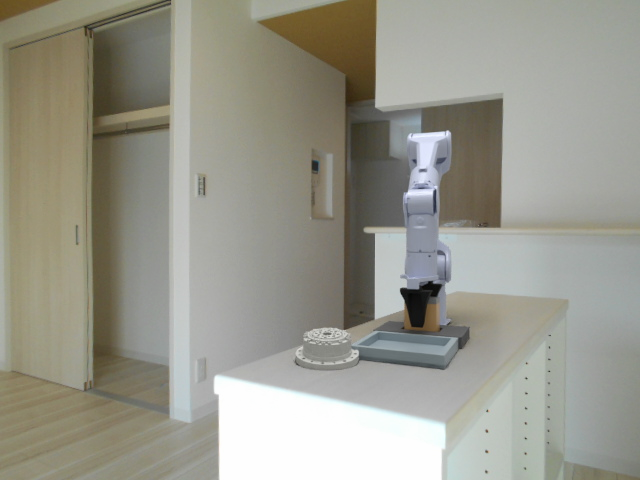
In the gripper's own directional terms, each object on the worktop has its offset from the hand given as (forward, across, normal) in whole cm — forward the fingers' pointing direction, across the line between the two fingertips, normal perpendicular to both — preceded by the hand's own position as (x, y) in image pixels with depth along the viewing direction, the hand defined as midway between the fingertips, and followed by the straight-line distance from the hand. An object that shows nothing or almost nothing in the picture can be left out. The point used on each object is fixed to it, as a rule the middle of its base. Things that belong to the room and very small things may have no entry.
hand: (422, 323), depth 87 cm
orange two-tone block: (+3, 0, 0) cm, 3 cm away
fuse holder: (+3, 0, 0) cm, 3 cm away
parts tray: (+3, +12, 0) cm, 12 cm away
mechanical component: (+3, +21, -10) cm, 24 cm away
